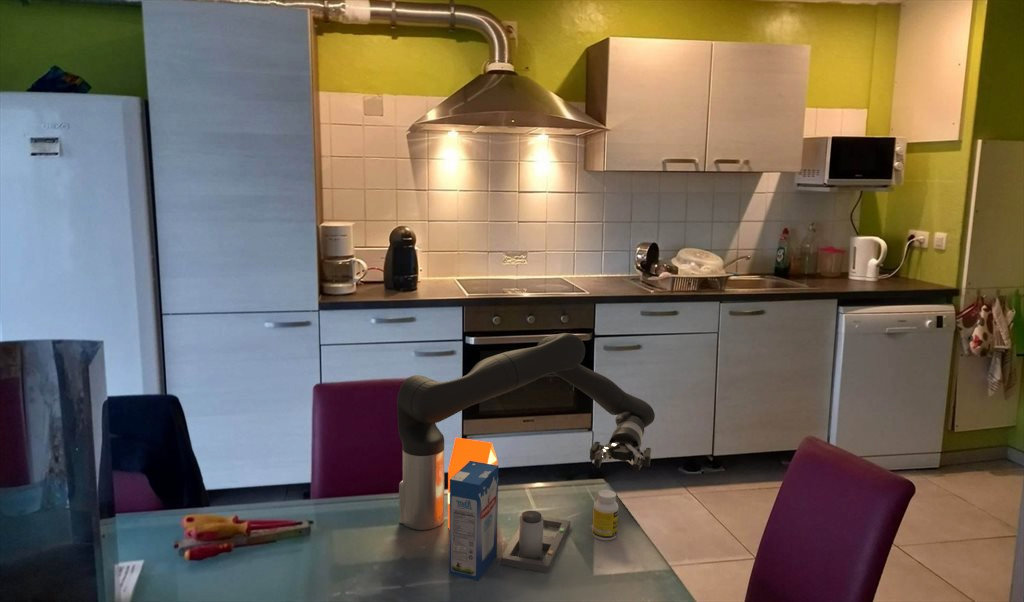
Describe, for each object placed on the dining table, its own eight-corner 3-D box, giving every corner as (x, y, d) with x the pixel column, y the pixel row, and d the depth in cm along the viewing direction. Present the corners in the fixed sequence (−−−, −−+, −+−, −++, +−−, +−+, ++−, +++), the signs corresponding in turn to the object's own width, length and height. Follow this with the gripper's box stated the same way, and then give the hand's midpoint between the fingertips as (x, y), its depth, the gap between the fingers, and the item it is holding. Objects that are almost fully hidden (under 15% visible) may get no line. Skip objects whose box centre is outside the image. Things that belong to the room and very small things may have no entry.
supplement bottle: (616, 542, 161) (618, 500, 159) (591, 539, 162) (592, 497, 160) (617, 530, 166) (619, 489, 164) (593, 527, 167) (595, 486, 165)
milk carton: (478, 581, 145) (479, 484, 141) (448, 574, 147) (449, 479, 143) (496, 556, 154) (498, 465, 151) (469, 550, 156) (470, 460, 153)
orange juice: (484, 536, 163) (486, 449, 159) (447, 528, 165) (447, 443, 162) (496, 520, 170) (498, 436, 166) (460, 513, 173) (461, 431, 169)
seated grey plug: (516, 560, 153) (517, 518, 151) (522, 548, 158) (523, 508, 156) (538, 564, 152) (540, 522, 150) (544, 552, 156) (545, 511, 154)
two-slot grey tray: (500, 564, 151) (500, 556, 151) (526, 520, 170) (527, 512, 170) (548, 573, 148) (548, 564, 148) (569, 527, 167) (570, 519, 167)
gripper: (598, 423, 189) (586, 447, 174) (655, 429, 185) (647, 454, 170) (597, 451, 191) (585, 477, 175) (654, 458, 187) (646, 485, 171)
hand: (616, 466), depth 173 cm, fingers open, 8 cm apart
